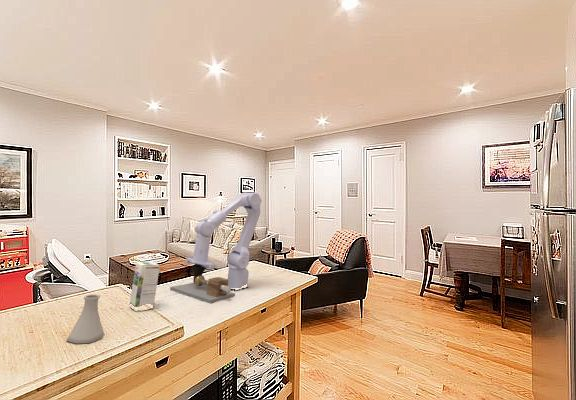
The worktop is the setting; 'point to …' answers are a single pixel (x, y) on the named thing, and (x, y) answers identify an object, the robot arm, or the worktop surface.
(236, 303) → the worktop surface
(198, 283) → the shaft
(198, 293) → the base board
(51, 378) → the worktop surface
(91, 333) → the flask
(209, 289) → the block
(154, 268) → the syrup box
